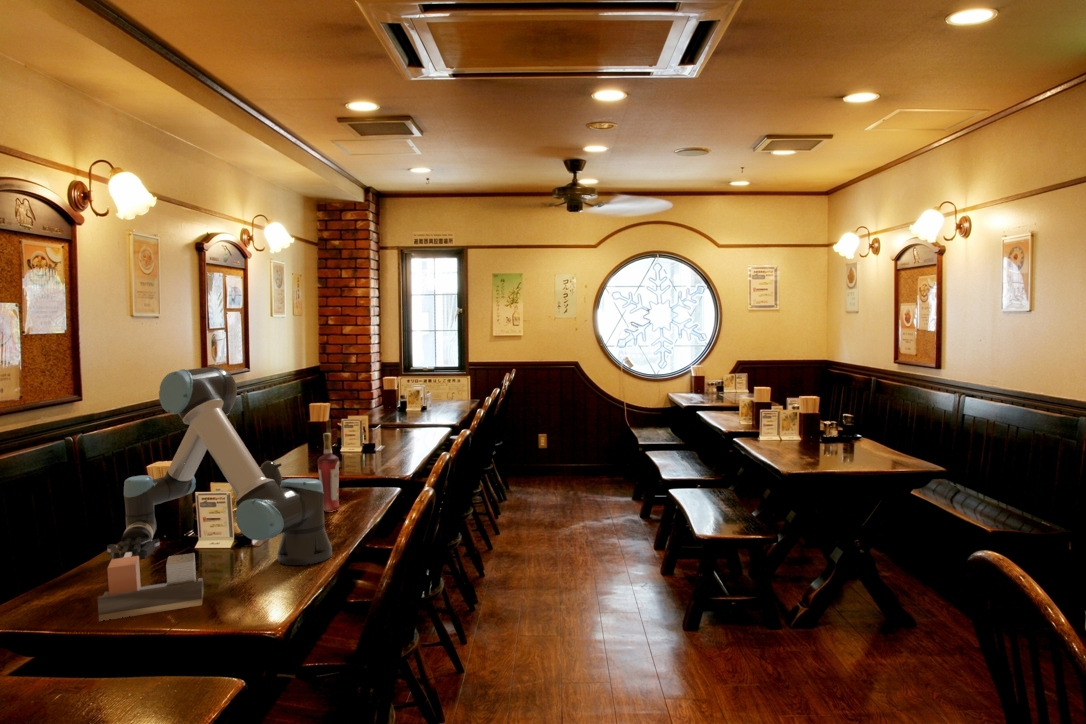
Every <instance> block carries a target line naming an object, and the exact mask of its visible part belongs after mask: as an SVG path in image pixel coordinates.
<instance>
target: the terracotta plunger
mask: <svg viewBox="0 0 1086 724" xmlns="http://www.w3.org/2000/svg"><path fill="white" fill-rule="evenodd" d="M140 568H141V567H140V558H139V556H133V557H125V558H117V559H112V558H111V560H110V562H109V563H108V566H107V568H106V569H107V579H108V580H107V581H108V583H107V584H108V591H109V595H111V594H118V593H125V592H131V591H138V590H140V588H141V587H142V584H141V571H140Z"/></svg>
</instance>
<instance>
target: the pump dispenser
mask: <svg viewBox="0 0 1086 724" xmlns="http://www.w3.org/2000/svg"><path fill="white" fill-rule="evenodd" d="M281 466H282V463H281V462H280V463H277V464H276V462H274V461H271V460H266V461H264V462H263V463H262V464H261V466H259V468H260V470H261V471H262V473H263V474H264V476H265V477H266V478H268V479H273V480H275V482H276V484H277V485H278V487H279V488H280V489H281V487H280V485H281V481H283V480H284V479H283V477H282V473H281V471H280V469H279V468H280V467H281Z"/></svg>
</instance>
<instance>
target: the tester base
mask: <svg viewBox="0 0 1086 724" xmlns="http://www.w3.org/2000/svg"><path fill="white" fill-rule="evenodd" d="M203 598H204V579H203V577H199V578H197V581H196V582H192V583H185V584H179V585H172V586H167V582H163V583H157V584H152V585H151V584H149V585H144V586H143V585H141V588H140V590H138V591H131V592H125V593H118V594H111V595H109V590H108V591H104V593H103V595H99V596H97V611H98V612H97V614H98V622H104V621H103V620H105V621H109V619H111V620H117V619H122V617H123V618H128V617H129V616H130V617H135V616H140V615H148V614H154V613H161V612H165V611H166V612H167V611H172V610H173V611H174V610H179V609H184V608H190V607H193V608H194V607H198V606H199V607H200V606H202V605H203Z"/></svg>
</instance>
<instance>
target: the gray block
mask: <svg viewBox="0 0 1086 724" xmlns="http://www.w3.org/2000/svg"><path fill="white" fill-rule="evenodd" d="M195 555H196V554H195V552H192V553H183V554H177V555H169V556H168V557H167V560H166V565H165V568H166V583H167V586H172V585H179V584H185V583H192V582H197V574H196V573H197V571H196V569H197V568H196V556H195Z"/></svg>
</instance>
